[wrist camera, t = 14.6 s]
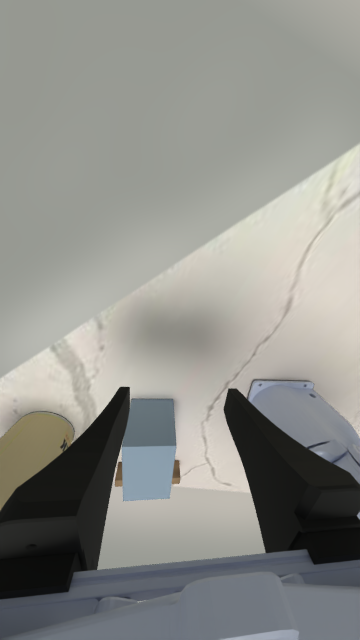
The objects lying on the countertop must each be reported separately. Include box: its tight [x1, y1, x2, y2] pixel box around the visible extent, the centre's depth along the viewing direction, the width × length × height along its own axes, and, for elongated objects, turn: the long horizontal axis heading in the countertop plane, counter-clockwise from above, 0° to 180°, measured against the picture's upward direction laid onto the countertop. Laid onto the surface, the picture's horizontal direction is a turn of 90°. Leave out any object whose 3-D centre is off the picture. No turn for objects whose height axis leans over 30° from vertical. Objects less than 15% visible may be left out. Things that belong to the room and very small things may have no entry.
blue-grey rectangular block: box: [122, 399, 176, 501], centre depth 24 cm, size 6×10×7 cm, turn 174°
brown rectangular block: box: [115, 461, 180, 487], centre depth 29 cm, size 10×2×2 cm, turn 85°
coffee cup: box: [0, 412, 74, 510], centre depth 20 cm, size 9×9×12 cm
